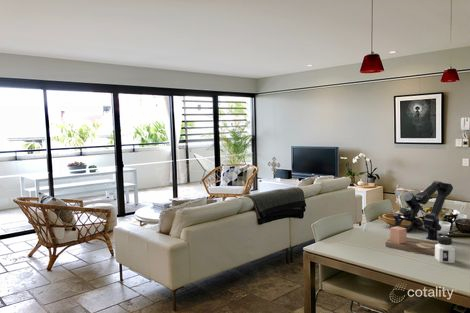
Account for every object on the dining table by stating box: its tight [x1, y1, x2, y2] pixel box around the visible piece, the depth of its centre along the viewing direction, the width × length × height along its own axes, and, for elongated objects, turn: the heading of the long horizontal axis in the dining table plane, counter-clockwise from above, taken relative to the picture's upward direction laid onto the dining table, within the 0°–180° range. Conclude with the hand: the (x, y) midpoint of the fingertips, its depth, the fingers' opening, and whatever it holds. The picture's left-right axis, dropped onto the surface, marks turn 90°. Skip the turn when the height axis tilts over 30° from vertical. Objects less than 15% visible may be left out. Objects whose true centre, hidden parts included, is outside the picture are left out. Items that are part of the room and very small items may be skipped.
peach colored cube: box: [389, 226, 407, 244], centre depth 226 cm, size 6×6×8 cm
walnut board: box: [385, 236, 438, 257], centre depth 224 cm, size 18×28×5 cm, turn 50°
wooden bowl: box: [378, 212, 423, 230], centre depth 270 cm, size 30×24×8 cm
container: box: [434, 235, 456, 264], centre depth 201 cm, size 8×8×13 cm
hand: (400, 230), depth 226 cm, fingers open, 9 cm apart
